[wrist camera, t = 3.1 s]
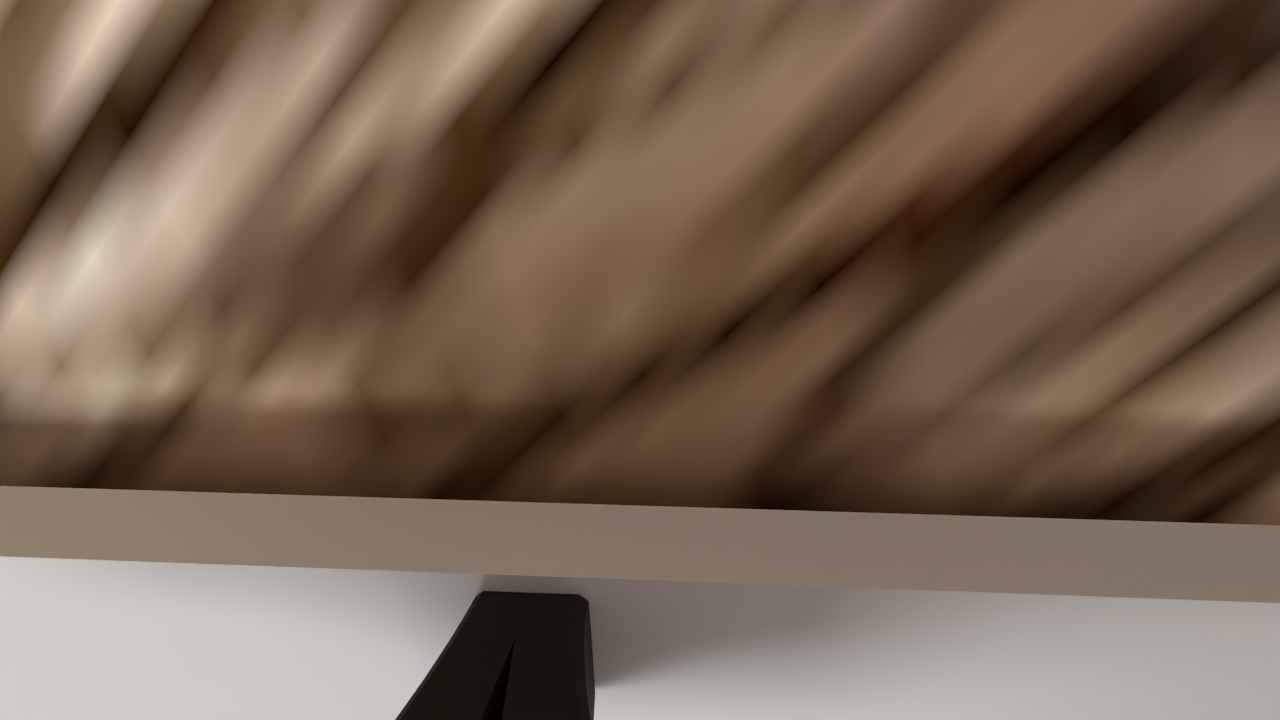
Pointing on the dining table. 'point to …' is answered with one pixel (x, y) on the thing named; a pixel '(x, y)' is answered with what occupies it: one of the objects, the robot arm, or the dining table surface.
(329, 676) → the grey plank
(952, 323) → the dining table surface
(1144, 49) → the dining table surface
